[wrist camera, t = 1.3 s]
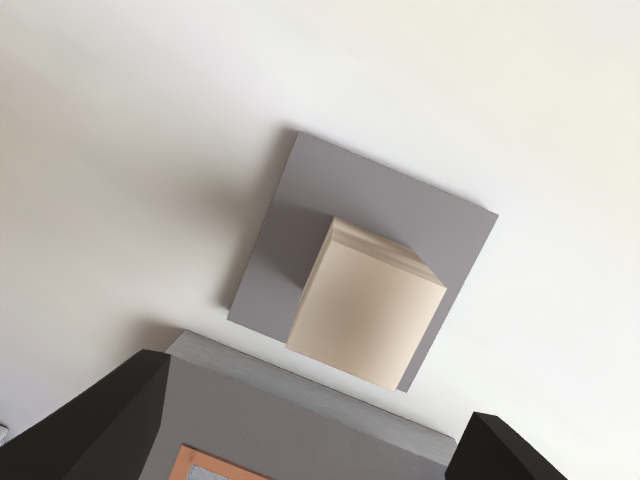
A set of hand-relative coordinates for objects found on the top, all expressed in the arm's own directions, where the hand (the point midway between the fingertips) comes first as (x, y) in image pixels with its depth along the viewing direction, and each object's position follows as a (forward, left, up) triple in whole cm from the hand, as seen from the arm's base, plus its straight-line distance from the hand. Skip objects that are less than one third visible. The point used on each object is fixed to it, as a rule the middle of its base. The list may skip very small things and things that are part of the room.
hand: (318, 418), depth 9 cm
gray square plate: (-1, -1, -11) cm, 11 cm away
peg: (-1, -1, -10) cm, 10 cm away
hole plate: (-2, +14, -11) cm, 18 cm away
